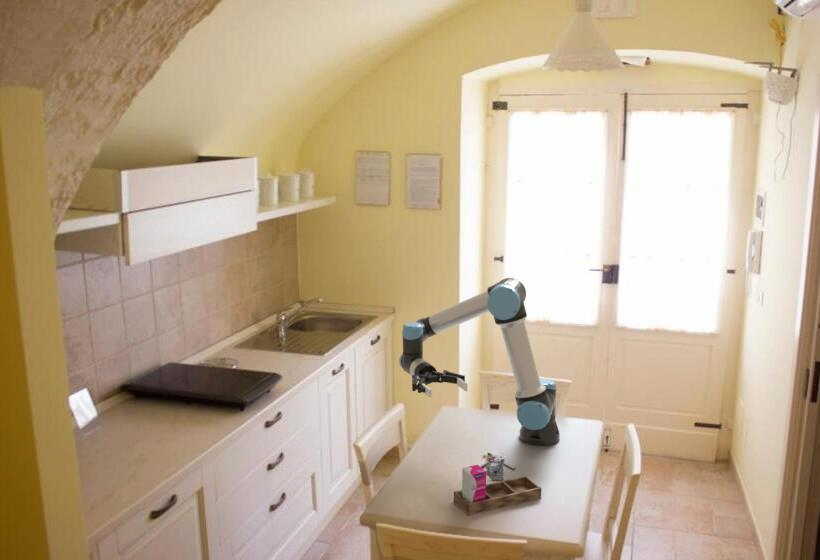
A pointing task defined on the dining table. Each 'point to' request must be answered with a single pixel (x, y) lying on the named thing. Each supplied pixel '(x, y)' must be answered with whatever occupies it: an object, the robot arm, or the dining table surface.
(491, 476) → the grey irregular piece
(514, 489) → the brown wooden compartment tray
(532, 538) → the dining table surface
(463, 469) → the supplement box
